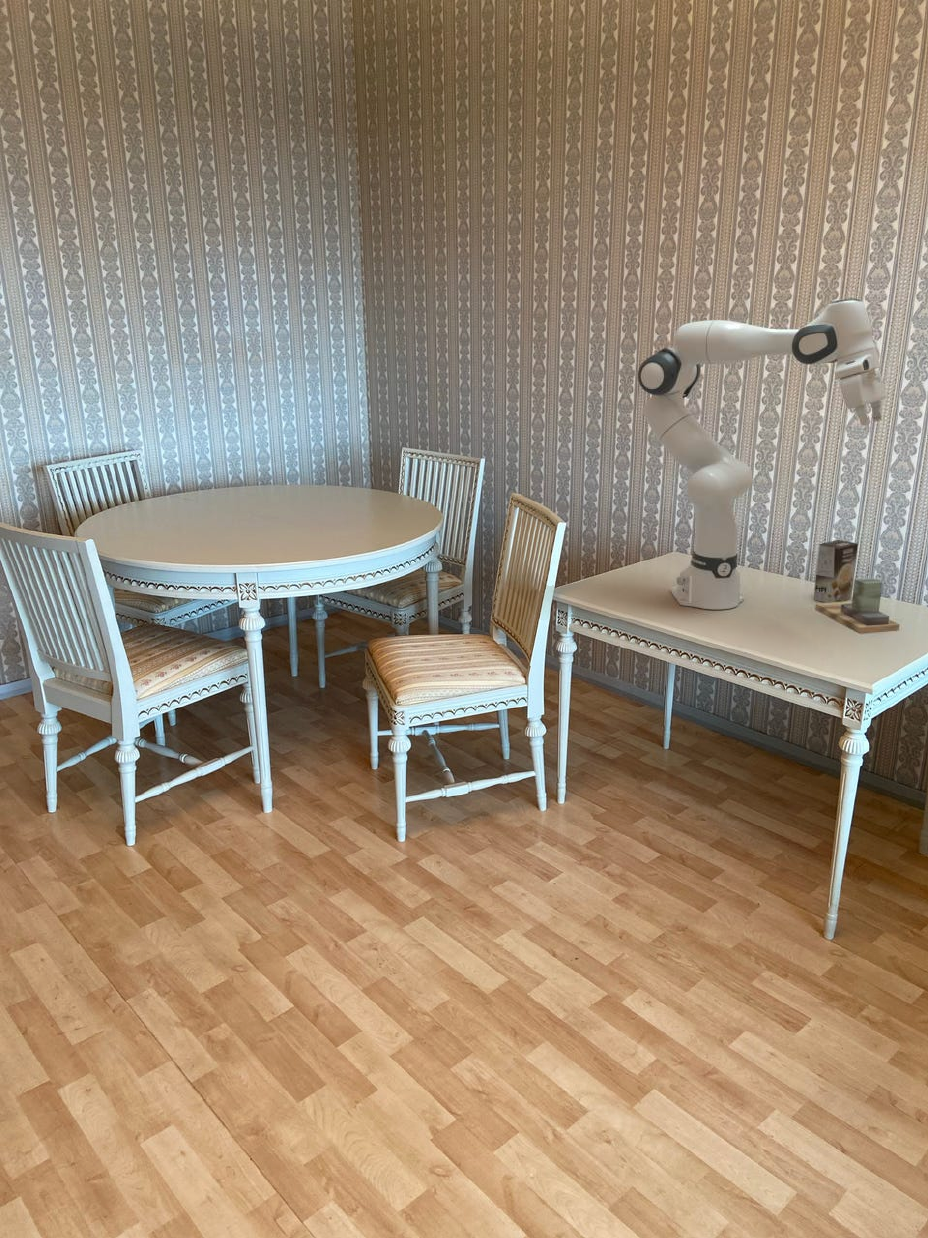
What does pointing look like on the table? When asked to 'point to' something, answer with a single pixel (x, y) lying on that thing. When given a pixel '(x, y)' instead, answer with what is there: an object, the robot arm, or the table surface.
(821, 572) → the coffee box
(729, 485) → the robot arm
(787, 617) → the table surface
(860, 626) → the pine board
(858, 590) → the block
